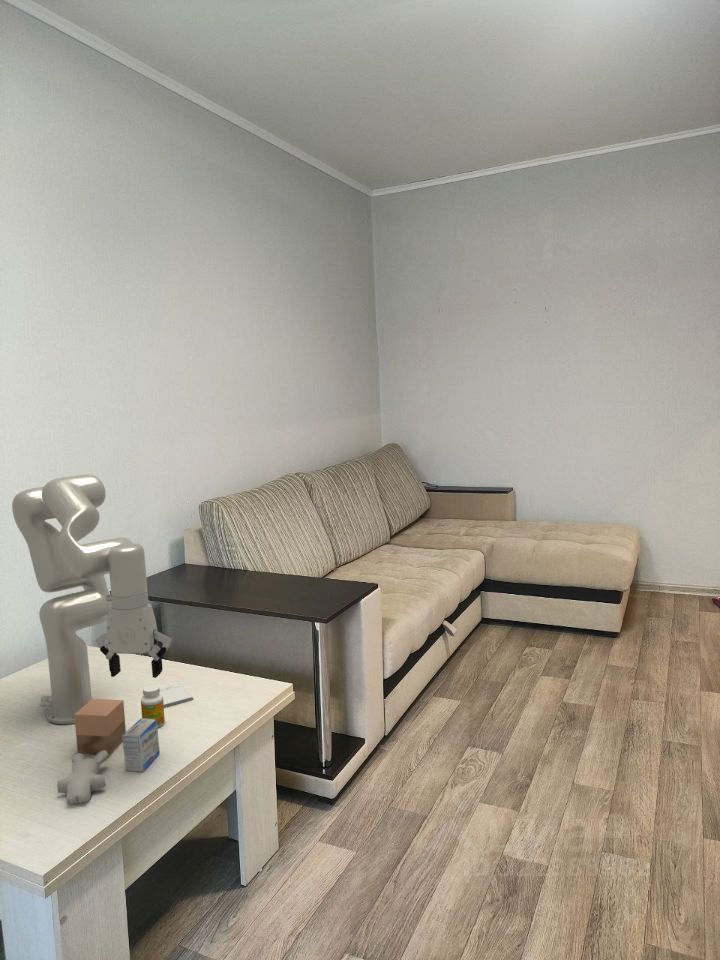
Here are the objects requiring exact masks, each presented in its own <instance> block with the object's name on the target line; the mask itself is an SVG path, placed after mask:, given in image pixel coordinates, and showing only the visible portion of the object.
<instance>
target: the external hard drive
mask: <svg viewBox="0 0 720 960" xmlns="http://www.w3.org/2000/svg"><path fill="white" fill-rule="evenodd" d="M158 686H159V688H160V694H162V696H163V703H164V709H166V707H167V708H170V707H174V706H177V705H181V704H184V703H185V704H186V703H188V701H189V702H191V701H192V700H193V701H194V696H193V695H192V694H191V693H190V692H189V691H188V690H187V689H186V687H185V685H183V684H182V683H181V681H178V680H177V681H174V682H170V683H165V684H160V685H158Z"/></svg>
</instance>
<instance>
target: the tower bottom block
mask: <svg viewBox="0 0 720 960" xmlns="http://www.w3.org/2000/svg"><path fill="white" fill-rule="evenodd" d="M126 732H127V730H126V719H125V720H124V721H123V722H122V723H121V724H120V725H119V726H118V727H117V728H116V729H115V730H114V731H113V732H112V733H111V734H110V735H109V736H88V735H76V734H75V737H76V738H75V739H76V749H77V753H81V754H83V755H87V756H88V755H89V756H90V755H92V756H94V755H95V756H96V755H97V753H99V752H100V751H103V750H105V751H107V753H108V754H109V757H110V756H112V754H113V753H114V752H115V751H116V750H117V749H118V747H120V746H121V744H123V738H122V735H124V734H125V733H126Z"/></svg>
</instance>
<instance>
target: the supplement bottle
mask: <svg viewBox="0 0 720 960" xmlns="http://www.w3.org/2000/svg"><path fill="white" fill-rule="evenodd" d="M159 686H160V685H159V684H148V685H145V686H144V687H143V688H142V694H143V696H142V697H141V698H140V708H141V709H140V710H141V719H155V720H157V727H158V729H159V728H161V727H163V725H165V722H166V720H165V719H166V718H165V708H164V703H163V696H162V694H160V688H159Z"/></svg>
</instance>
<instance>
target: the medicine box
mask: <svg viewBox="0 0 720 960" xmlns="http://www.w3.org/2000/svg"><path fill="white" fill-rule="evenodd" d="M158 730H159V728H158V727H157V720H155V719H142V718H140V719H139V720H137V722H135V723H134V724H133V725H132V726H131V727H130V728H129V729H128V730H126V733H125V734H124V735H122V738H123V742H122V747H123V749H122V750H123V758H124V767H125V768H124V769H125V771H128V772H141V773H144V772H145V770H146V769H147V768H148V767H149V766H150V765H151V764H152V763H153V762H154V760H155V759H156V758H157V757H158V756H159V755H160V742H159V731H158Z"/></svg>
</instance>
